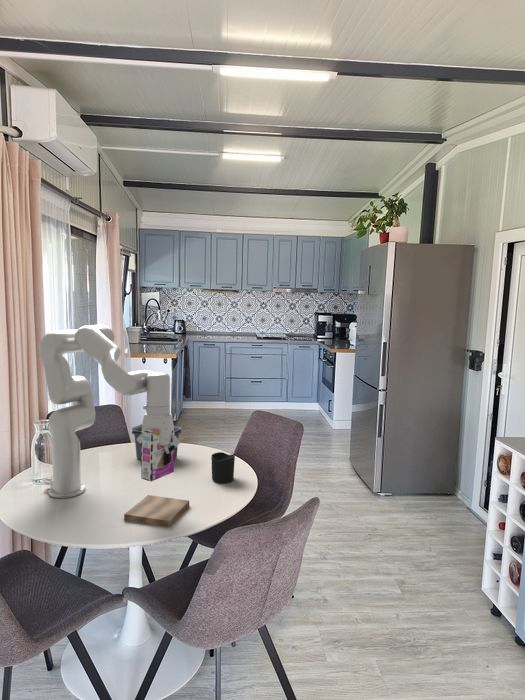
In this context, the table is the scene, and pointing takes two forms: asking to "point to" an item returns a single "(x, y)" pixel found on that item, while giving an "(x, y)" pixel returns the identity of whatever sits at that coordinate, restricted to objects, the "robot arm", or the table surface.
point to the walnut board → (157, 510)
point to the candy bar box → (154, 457)
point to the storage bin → (138, 431)
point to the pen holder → (222, 467)
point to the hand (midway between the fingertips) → (158, 462)
